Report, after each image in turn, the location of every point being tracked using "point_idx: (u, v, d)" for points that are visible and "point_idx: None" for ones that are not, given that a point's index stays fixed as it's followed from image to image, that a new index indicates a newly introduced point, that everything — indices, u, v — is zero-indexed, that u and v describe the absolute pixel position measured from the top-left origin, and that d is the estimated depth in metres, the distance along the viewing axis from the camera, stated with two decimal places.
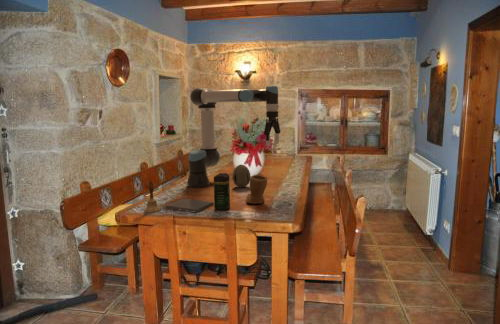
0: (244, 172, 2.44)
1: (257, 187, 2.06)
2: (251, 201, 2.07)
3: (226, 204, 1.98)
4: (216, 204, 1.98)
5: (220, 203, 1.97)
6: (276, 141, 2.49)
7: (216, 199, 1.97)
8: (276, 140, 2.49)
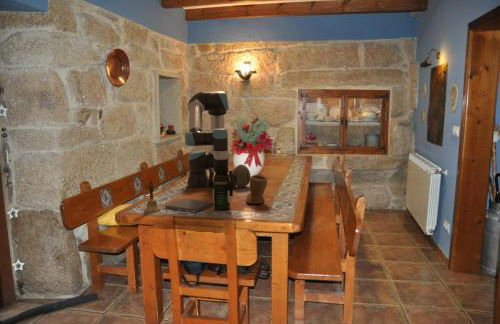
0: (244, 172, 2.44)
1: (257, 187, 2.06)
2: (251, 201, 2.07)
3: (226, 204, 1.98)
4: (216, 204, 1.98)
5: (220, 203, 1.97)
6: None
7: (216, 199, 1.97)
8: None
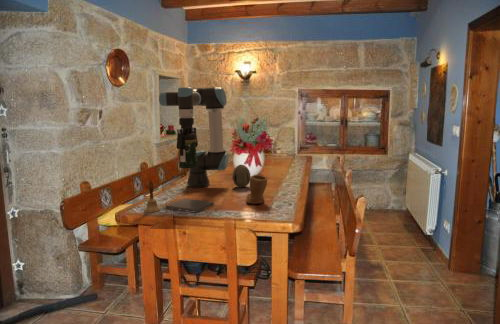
0: (244, 172, 2.44)
1: (257, 187, 2.06)
2: (251, 201, 2.07)
3: None
4: (195, 162, 2.00)
5: (196, 160, 2.02)
6: None
7: (194, 157, 2.00)
8: None
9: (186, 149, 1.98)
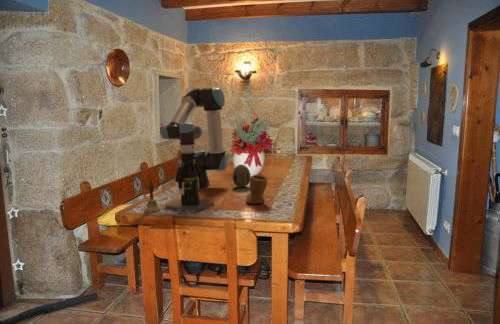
0: (244, 172, 2.44)
1: (257, 187, 2.06)
2: (251, 201, 2.07)
3: None
4: (196, 199, 2.03)
5: (198, 197, 2.05)
6: None
7: (195, 194, 2.03)
8: None
9: (188, 186, 2.01)
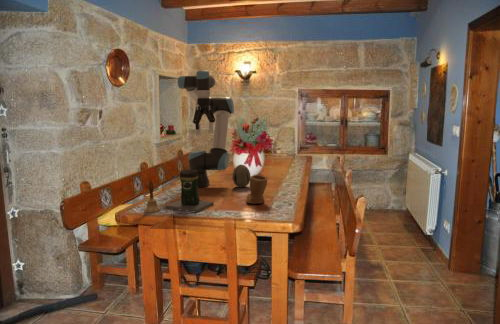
0: (244, 172, 2.44)
1: (257, 187, 2.06)
2: (251, 201, 2.07)
3: None
4: (196, 199, 2.03)
5: (198, 197, 2.05)
6: (210, 131, 2.32)
7: (195, 194, 2.03)
8: (210, 130, 2.32)
9: (188, 186, 2.01)
